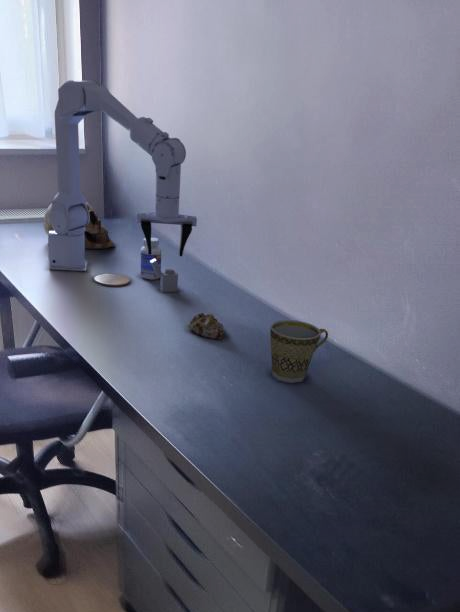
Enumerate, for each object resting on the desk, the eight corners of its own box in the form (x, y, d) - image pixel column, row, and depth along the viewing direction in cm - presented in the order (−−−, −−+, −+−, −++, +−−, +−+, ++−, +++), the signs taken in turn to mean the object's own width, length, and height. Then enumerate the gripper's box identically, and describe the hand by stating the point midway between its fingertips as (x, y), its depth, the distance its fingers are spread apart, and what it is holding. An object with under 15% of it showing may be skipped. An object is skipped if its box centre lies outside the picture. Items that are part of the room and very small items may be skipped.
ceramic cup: (280, 389, 139) (287, 340, 134) (255, 369, 146) (261, 322, 141) (334, 381, 145) (343, 334, 139) (308, 362, 152) (315, 316, 146)
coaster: (93, 285, 180) (93, 283, 180) (95, 274, 187) (95, 272, 187) (129, 287, 181) (129, 285, 181) (129, 276, 189) (129, 274, 188)
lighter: (175, 289, 183) (176, 257, 179) (177, 291, 182) (179, 259, 178) (148, 290, 181) (149, 258, 176) (151, 292, 179) (152, 260, 175)
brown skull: (119, 245, 211) (114, 197, 202) (70, 259, 201) (62, 210, 193) (88, 234, 219) (82, 188, 211) (40, 247, 210) (31, 199, 202)
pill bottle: (159, 280, 188) (160, 242, 182) (139, 278, 188) (139, 240, 182) (161, 274, 192) (162, 237, 187) (141, 272, 192) (142, 235, 187)
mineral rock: (179, 315, 161) (209, 303, 163) (182, 332, 164) (212, 320, 166) (202, 334, 154) (233, 320, 156) (205, 351, 157) (236, 338, 159)
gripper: (136, 197, 165) (136, 257, 172) (199, 201, 167) (195, 260, 175) (136, 191, 170) (135, 249, 178) (196, 195, 173) (193, 252, 180)
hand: (165, 254), depth 177 cm, fingers open, 7 cm apart
